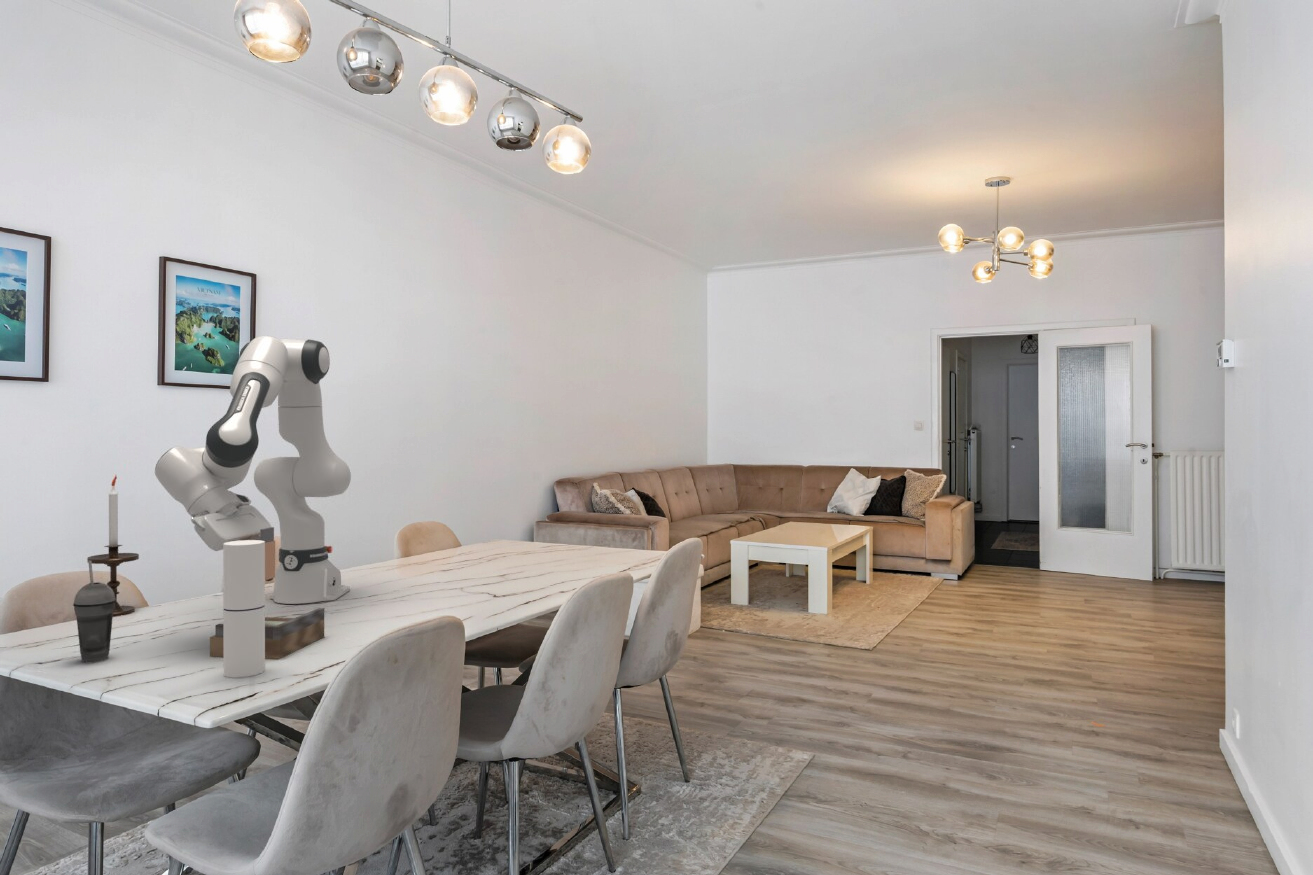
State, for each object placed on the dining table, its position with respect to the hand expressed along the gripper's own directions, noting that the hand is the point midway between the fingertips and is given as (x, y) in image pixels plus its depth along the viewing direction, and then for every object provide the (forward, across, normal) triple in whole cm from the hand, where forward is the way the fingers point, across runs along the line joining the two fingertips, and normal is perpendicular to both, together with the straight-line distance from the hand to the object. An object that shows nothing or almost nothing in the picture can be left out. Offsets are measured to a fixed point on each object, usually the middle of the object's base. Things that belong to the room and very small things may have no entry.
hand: (260, 555), depth 177 cm
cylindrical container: (+19, -19, +9) cm, 28 cm away
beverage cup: (-6, -12, +34) cm, 36 cm away
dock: (+15, 0, +12) cm, 20 cm away
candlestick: (-23, +28, +51) cm, 63 cm away
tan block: (+4, 0, +5) cm, 6 cm away
